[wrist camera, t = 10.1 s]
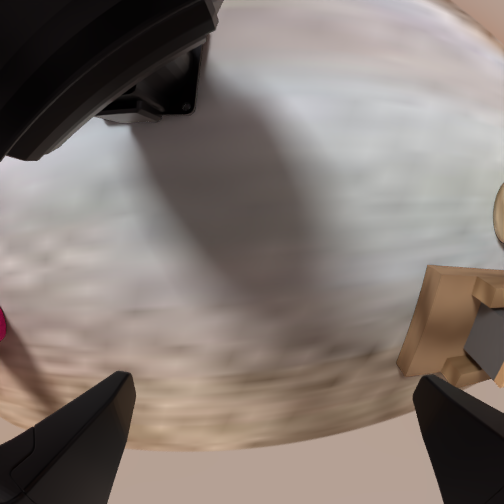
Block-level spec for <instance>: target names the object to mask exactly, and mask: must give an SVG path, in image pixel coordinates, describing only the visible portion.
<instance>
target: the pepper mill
mask: <svg viewBox="0 0 504 504" xmlns="http://www.w3.org/2000/svg"><path fill="white" fill-rule="evenodd" d="M5 334H6V323H5V318H4V315H3V313H2V310H1V308H0V341H1V340H2V339H3V338H4V337H5Z"/></svg>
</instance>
